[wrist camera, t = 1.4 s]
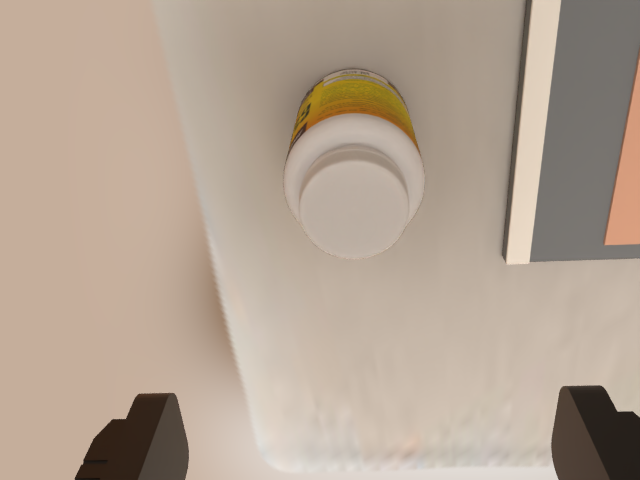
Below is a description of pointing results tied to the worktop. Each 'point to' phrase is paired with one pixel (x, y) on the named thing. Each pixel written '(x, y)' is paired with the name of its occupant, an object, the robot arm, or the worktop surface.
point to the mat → (576, 134)
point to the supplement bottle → (353, 165)
